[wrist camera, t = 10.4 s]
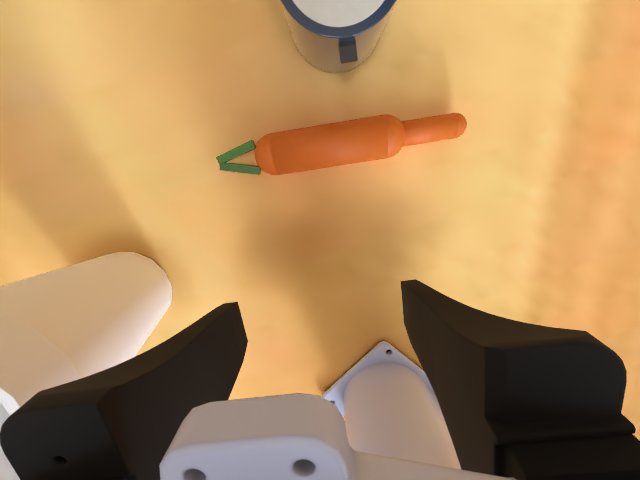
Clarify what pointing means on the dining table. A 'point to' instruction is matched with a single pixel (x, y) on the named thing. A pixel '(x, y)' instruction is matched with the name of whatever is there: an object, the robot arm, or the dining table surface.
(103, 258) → the foam cup
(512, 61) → the dining table surface
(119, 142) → the dining table surface
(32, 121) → the dining table surface
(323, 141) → the carrot
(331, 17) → the mug
